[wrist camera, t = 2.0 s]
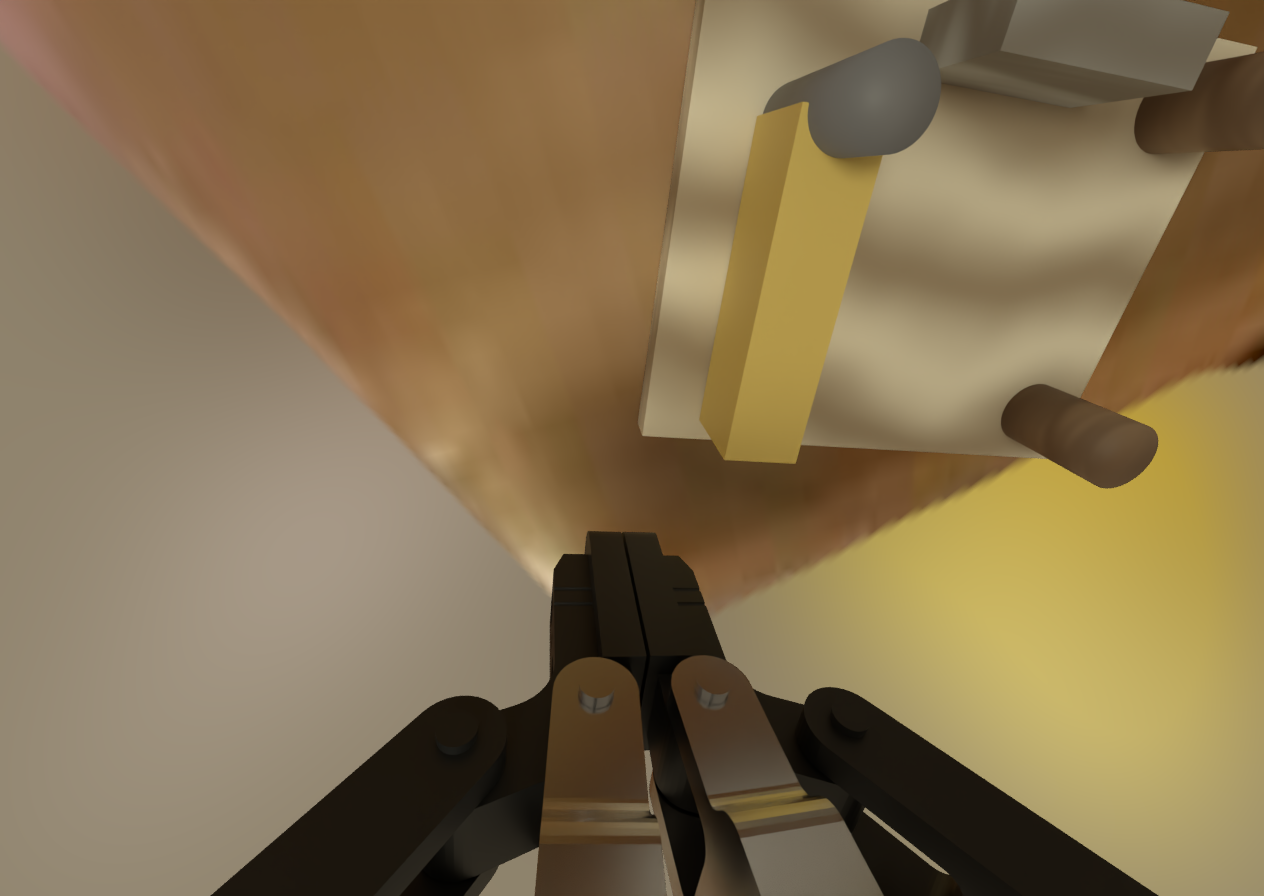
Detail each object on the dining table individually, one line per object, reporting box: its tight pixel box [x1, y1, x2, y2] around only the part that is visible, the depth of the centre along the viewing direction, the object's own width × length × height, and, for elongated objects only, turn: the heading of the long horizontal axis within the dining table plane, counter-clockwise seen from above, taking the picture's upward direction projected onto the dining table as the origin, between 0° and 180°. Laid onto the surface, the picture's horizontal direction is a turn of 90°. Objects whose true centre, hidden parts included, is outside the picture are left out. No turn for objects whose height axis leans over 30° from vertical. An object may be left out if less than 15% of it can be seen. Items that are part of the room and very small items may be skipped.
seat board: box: [638, 0, 1264, 488], centre depth 21 cm, size 18×22×6 cm
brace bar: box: [699, 38, 941, 464], centre depth 19 cm, size 13×3×6 cm, turn 173°
